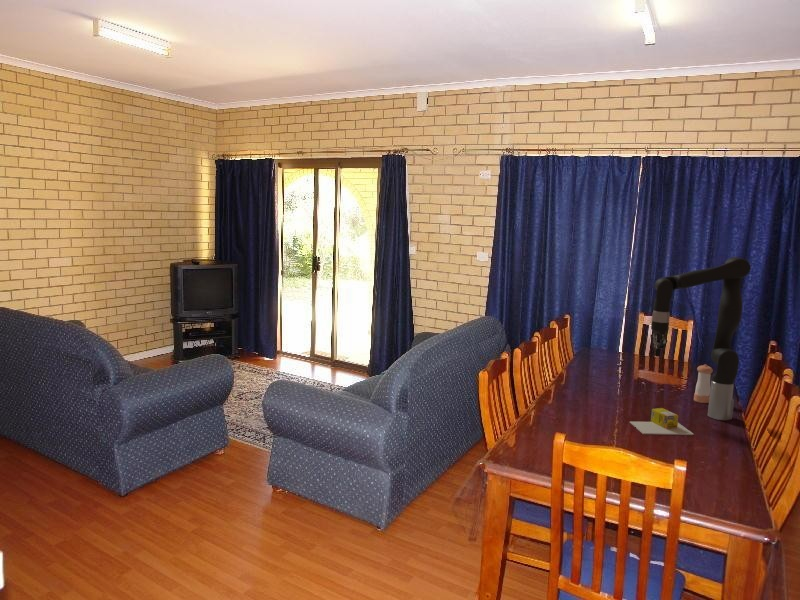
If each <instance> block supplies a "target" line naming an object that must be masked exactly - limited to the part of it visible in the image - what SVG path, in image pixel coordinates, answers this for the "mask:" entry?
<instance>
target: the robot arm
mask: <svg viewBox="0 0 800 600" xmlns="http://www.w3.org/2000/svg"><path fill="white" fill-rule="evenodd" d="M751 267H752V266H751V264H750V262H749V261H748V260H747V259H745V258H742V257H738V256H733V257H729V258H727V259H726V261H725V262H724V264H721V265H719V266H714V267H709V268H703V269H697V270H691V271H687V272H683V273H680V274H676V275H670V276H669V275H668V276H663V277H660V278H658V279H657V280H656V281H655V282H654V289H655V290H656V293H655V299H654V301H653V308H652V311H653V312H652V314H651V315H652V316H651V326H650V330H652V331H653V332H652V334H650V340H651V345H652V346H653V349H654V351H653V352H654V354H653V356H655V357H656V358H657V357H659V358H660V357H661V351H662V349H665V346H666V345H667V343H668V339H666V332H669V329H670V328H669V327H670V311H671V310H670V309H671V302H672V301H671V300H672V296H673V291H674V290H680V289H681V290H683V289H688V288H692V287H697V286H700V285H704V284H709V283H712V282H717V281H722V290H721V294H720V300H719V305H718V314H717V323H716V329H715V337H714V341H713V345H712V349H711V355H710V359H711V362H713V363H714V364H715V365H716V366H717V367H716V372H714V373H713V374H712V375H711V378H710V397H709V403H708V407H707V408H708V409H707V417H709V418H711V419H714V420H716V421H717V420H718V421H730V420H733V412H734V402H735V399H733V394H734V384H735V380H736V378H737V376H738V370H739V363H740V358H739V355H738V353H737V352H736V351H734V350H733V349H732V347H731V346H732V339H733V335H734V333H735V332H736V330H737V329H738V327H739V325H740V323H741V320H742V314H743V300H742V299H743V298H742V292H741V287H742V286H741V285H742V281H743V278H745V277H746V276H747V275H749V274H750V272H751Z"/></svg>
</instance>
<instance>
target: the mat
mask: <svg viewBox="0 0 800 600" xmlns="http://www.w3.org/2000/svg"><path fill="white" fill-rule="evenodd" d="M629 423H630V425H632V426H633V427H634V428H635V427H636V428H635V429H636V430H638V431H639V432H640V433H641V434H642V435H661V436H662V435H663V436H664V435H665V436H667V435H668V436H670V435H671V436H673V435H674V436H695V434H694V433H693V432H692V431H691V430H689V429H687V427H685V426H684V425H682V424H681V423H680V422H678V426H677V428H671V429H666V428H664V427H662V426H660V425H658V424H656V423H654V422H652V421H629Z"/></svg>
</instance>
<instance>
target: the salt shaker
mask: <svg viewBox="0 0 800 600" xmlns="http://www.w3.org/2000/svg"><path fill="white" fill-rule="evenodd" d="M696 370H697V372H698V375H697V380H696V381H697V382H696V385H695V392H694V394H693V401H694V402H697V403H701V404H709V397H710V388H711V377H712V375H711V374H712V373H713V371H714V370H713V368H712V367H711V366H709V365H707V364H706V363H705V364H703V365H702V364H701V365H699V366H698V367H697V368H696Z"/></svg>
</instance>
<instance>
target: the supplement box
mask: <svg viewBox="0 0 800 600" xmlns="http://www.w3.org/2000/svg"><path fill="white" fill-rule="evenodd" d="M649 422H654V423H656V424H658V425H660V426H662V427H664V428H666V429H671V428H677V426H678V423H679V415H678V414H677V413H674V412H672V411H669V410H668V409H665V408H663V407H654V408H653V407H652V408H650V415H649Z"/></svg>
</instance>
